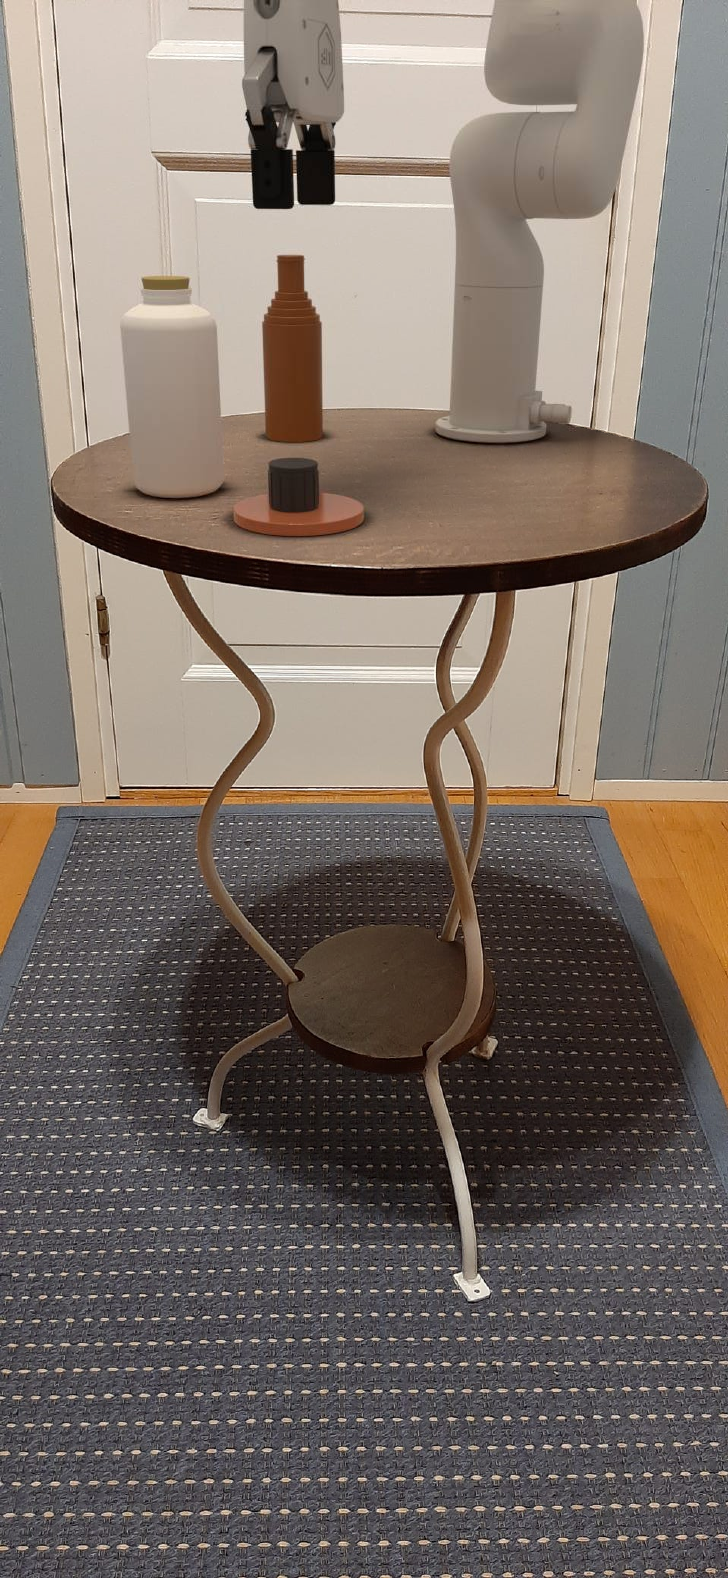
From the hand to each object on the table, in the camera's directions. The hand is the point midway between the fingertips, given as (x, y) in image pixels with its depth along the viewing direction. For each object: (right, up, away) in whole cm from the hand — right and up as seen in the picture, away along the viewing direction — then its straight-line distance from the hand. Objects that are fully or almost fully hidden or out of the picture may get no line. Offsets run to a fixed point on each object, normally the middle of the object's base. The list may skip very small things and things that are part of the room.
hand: (295, 206), depth 92 cm
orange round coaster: (0, -24, +5) cm, 24 cm away
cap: (0, -23, +5) cm, 23 cm away
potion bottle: (-12, -19, +14) cm, 27 cm away
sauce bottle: (-2, -7, +37) cm, 38 cm away
